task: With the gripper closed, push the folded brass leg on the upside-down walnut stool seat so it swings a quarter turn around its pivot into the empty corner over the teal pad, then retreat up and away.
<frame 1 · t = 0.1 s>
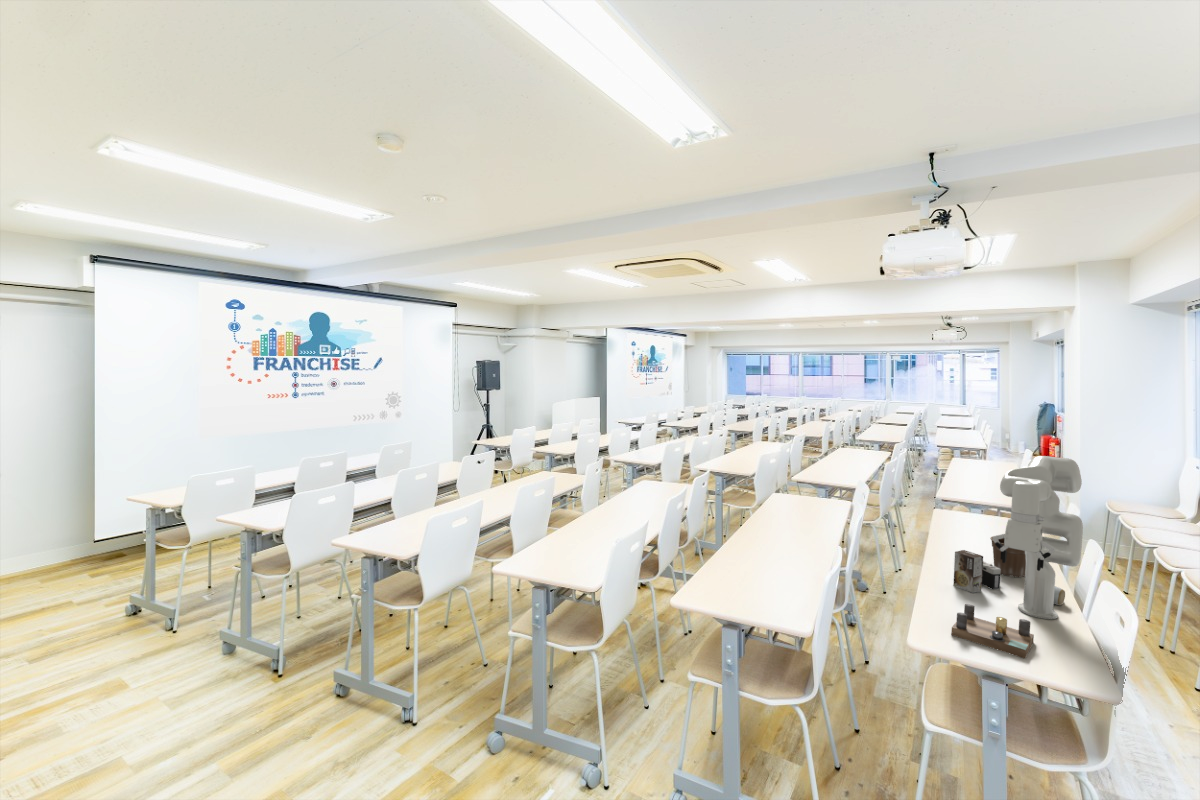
hand: (1021, 565, 189), 31 cm above the table, fingers open, 9 cm apart
camera: (987, 583, 251), on the table
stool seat: (991, 638, 200), on the table
ceramic mug: (1050, 601, 233), on the table
plant pot: (1008, 573, 264), on the table
coffee box: (967, 588, 245), on the table
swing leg: (999, 628, 196), point 6 cm above the table, hinge at 90.0°
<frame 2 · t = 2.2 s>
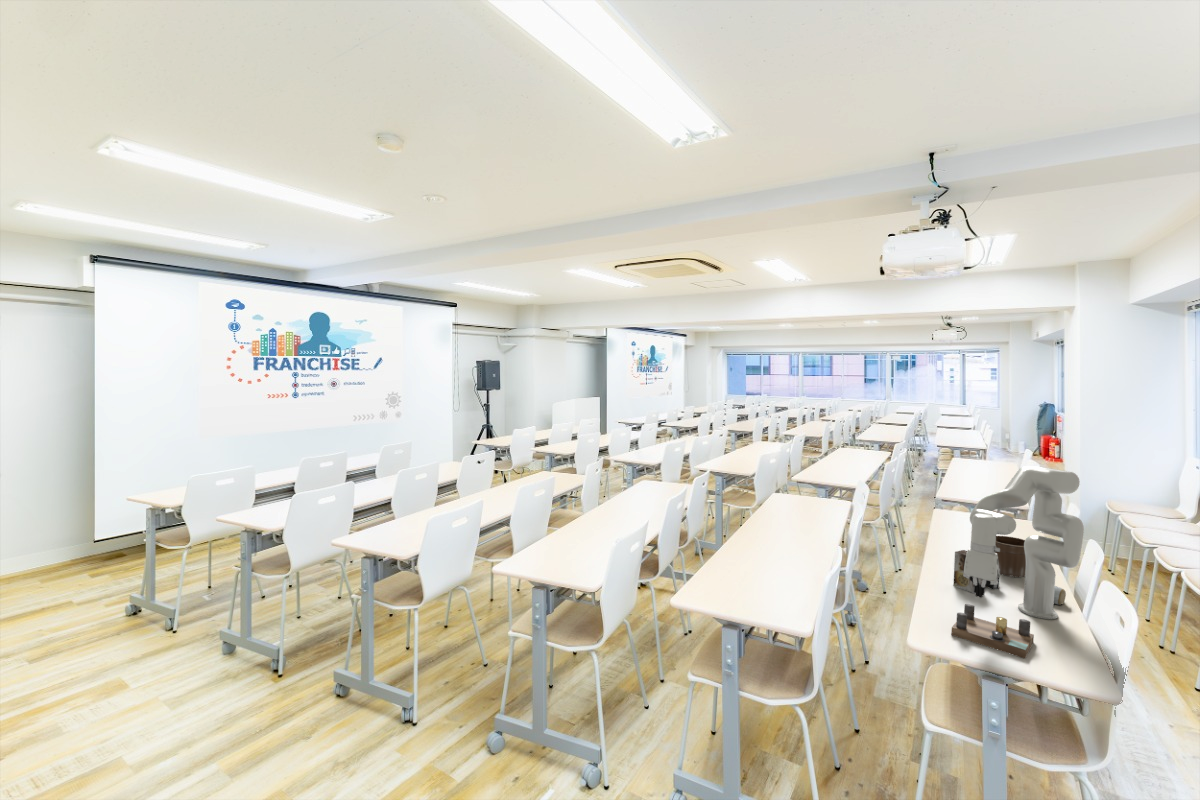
hand: (979, 595, 202), 15 cm above the table, fingers closed
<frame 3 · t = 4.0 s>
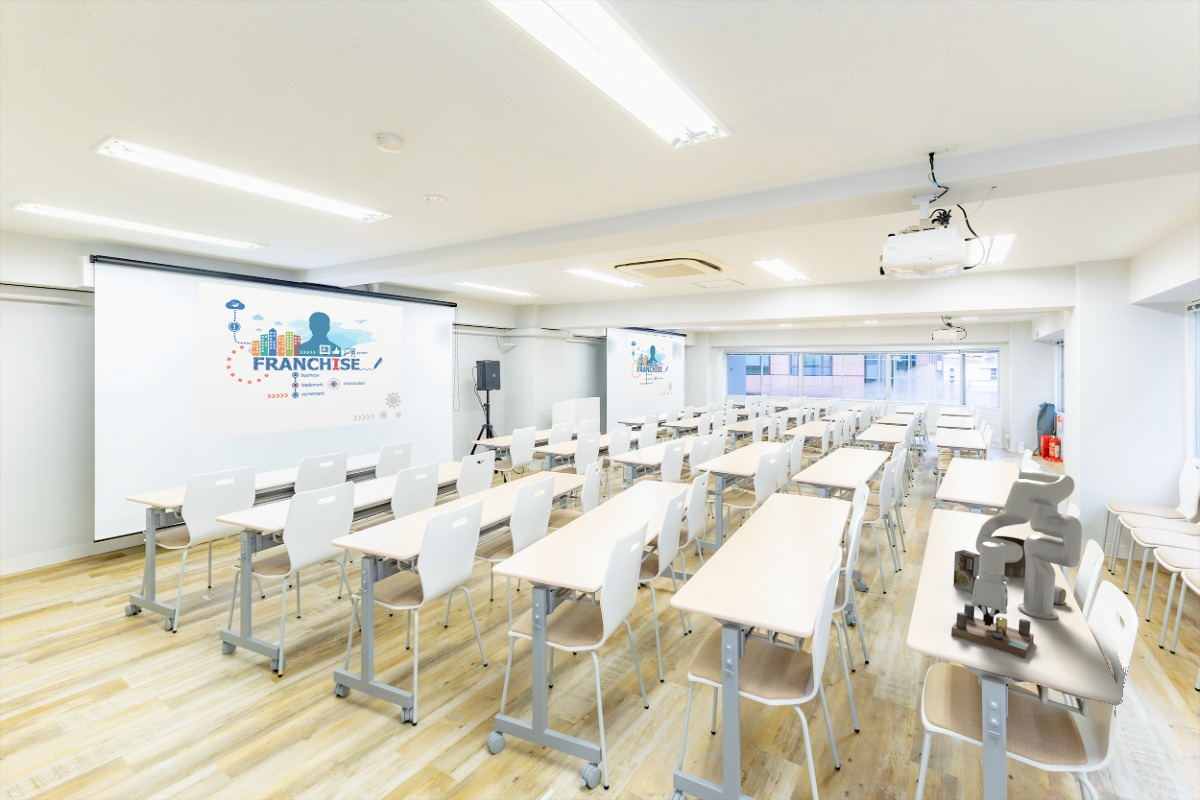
hand: (988, 624, 201), 5 cm above the table, fingers closed
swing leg: (999, 628, 196), point 6 cm above the table, hinge at 89.8°, touching gripper
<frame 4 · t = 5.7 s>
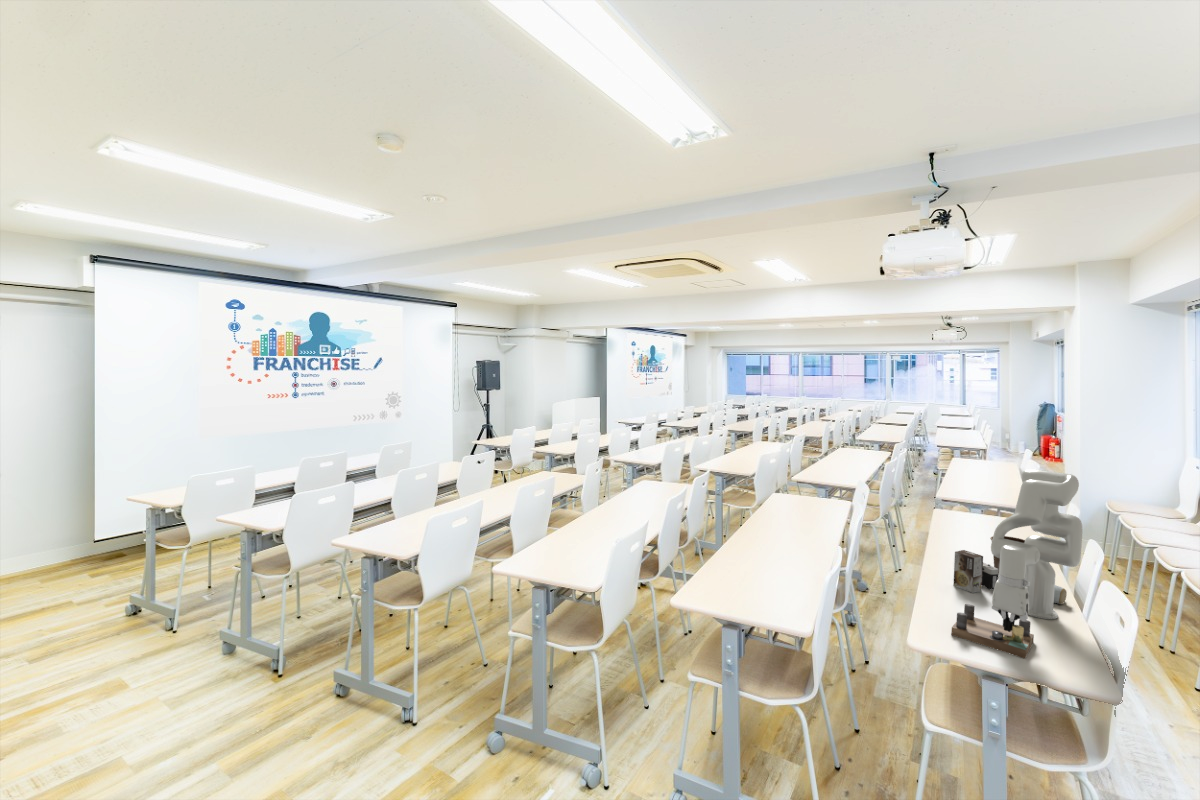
hand: (1008, 630, 196), 5 cm above the table, fingers closed
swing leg: (1007, 632, 193), point 6 cm above the table, hinge at 28.8°, touching gripper
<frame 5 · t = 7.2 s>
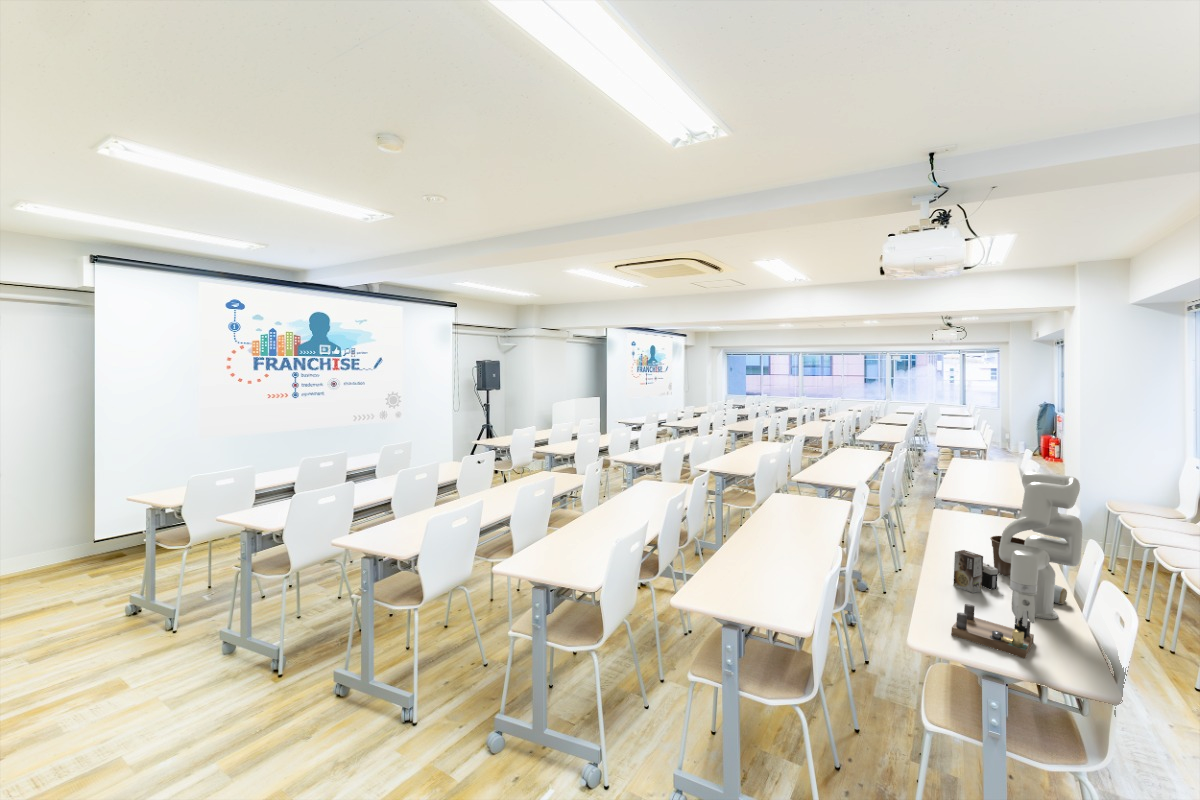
hand: (1020, 636, 192), 5 cm above the table, fingers closed
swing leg: (1007, 634, 191), point 6 cm above the table, hinge at -9.7°, touching gripper
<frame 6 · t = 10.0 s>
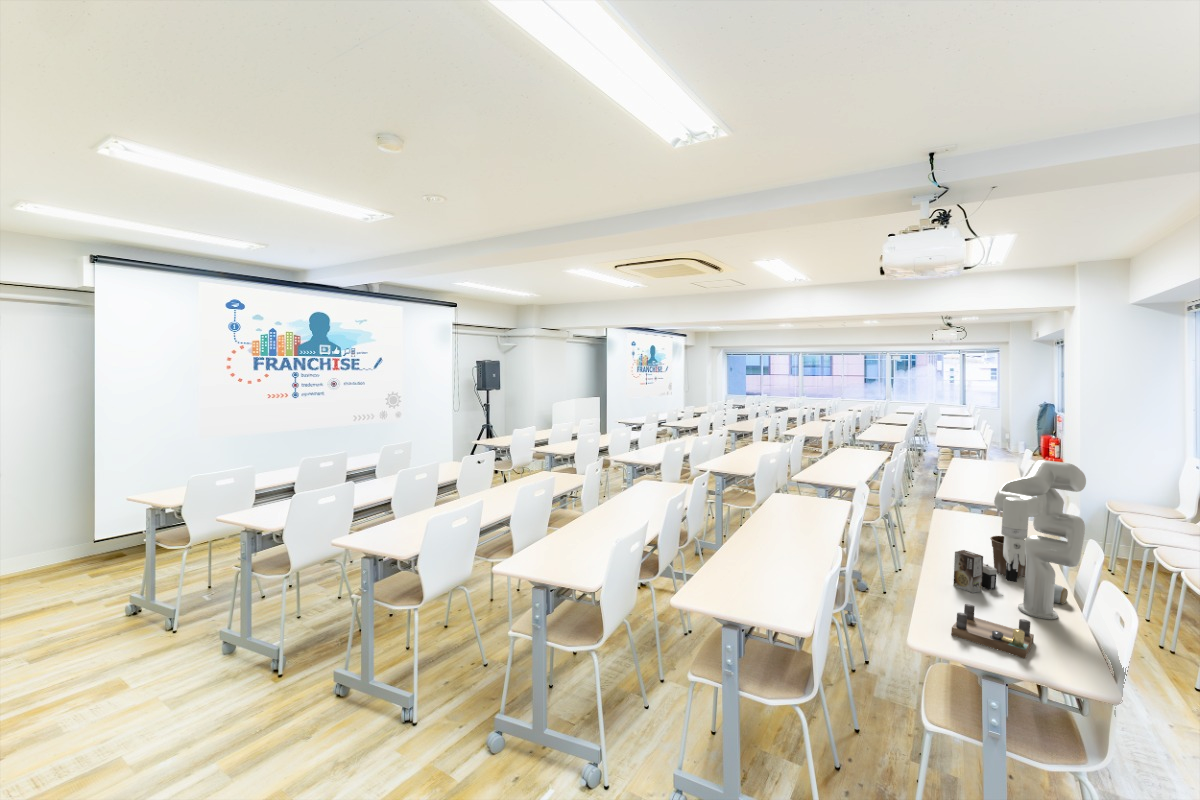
hand: (1011, 580, 198), 22 cm above the table, fingers closed
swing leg: (1007, 634, 192), point 6 cm above the table, hinge at -4.2°
at the end: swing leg at -4° (first picture: +90°) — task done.
